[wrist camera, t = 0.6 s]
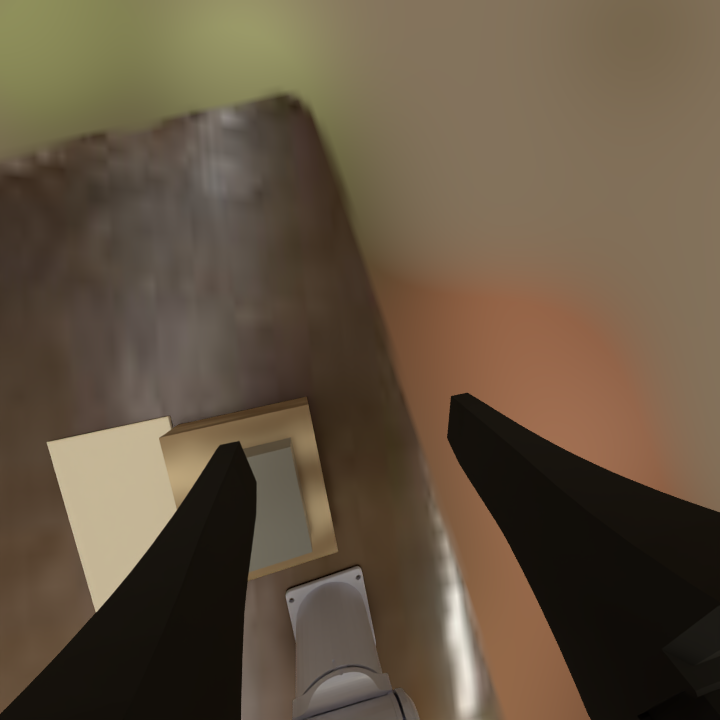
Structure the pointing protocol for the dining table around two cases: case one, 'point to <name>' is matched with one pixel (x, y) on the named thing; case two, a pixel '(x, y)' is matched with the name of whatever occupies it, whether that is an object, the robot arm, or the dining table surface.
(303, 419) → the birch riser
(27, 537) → the dining table surface
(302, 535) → the slate tile
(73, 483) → the placemat
